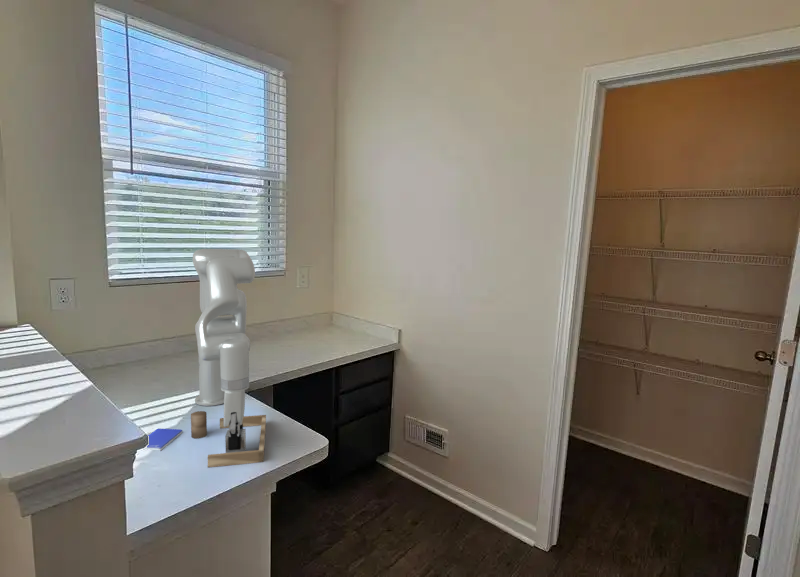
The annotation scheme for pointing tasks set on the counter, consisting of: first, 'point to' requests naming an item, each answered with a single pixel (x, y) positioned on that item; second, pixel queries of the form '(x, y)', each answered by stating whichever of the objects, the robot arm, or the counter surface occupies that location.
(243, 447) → the block
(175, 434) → the hard drive
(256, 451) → the corral
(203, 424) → the cylinder
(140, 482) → the counter surface
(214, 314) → the robot arm
